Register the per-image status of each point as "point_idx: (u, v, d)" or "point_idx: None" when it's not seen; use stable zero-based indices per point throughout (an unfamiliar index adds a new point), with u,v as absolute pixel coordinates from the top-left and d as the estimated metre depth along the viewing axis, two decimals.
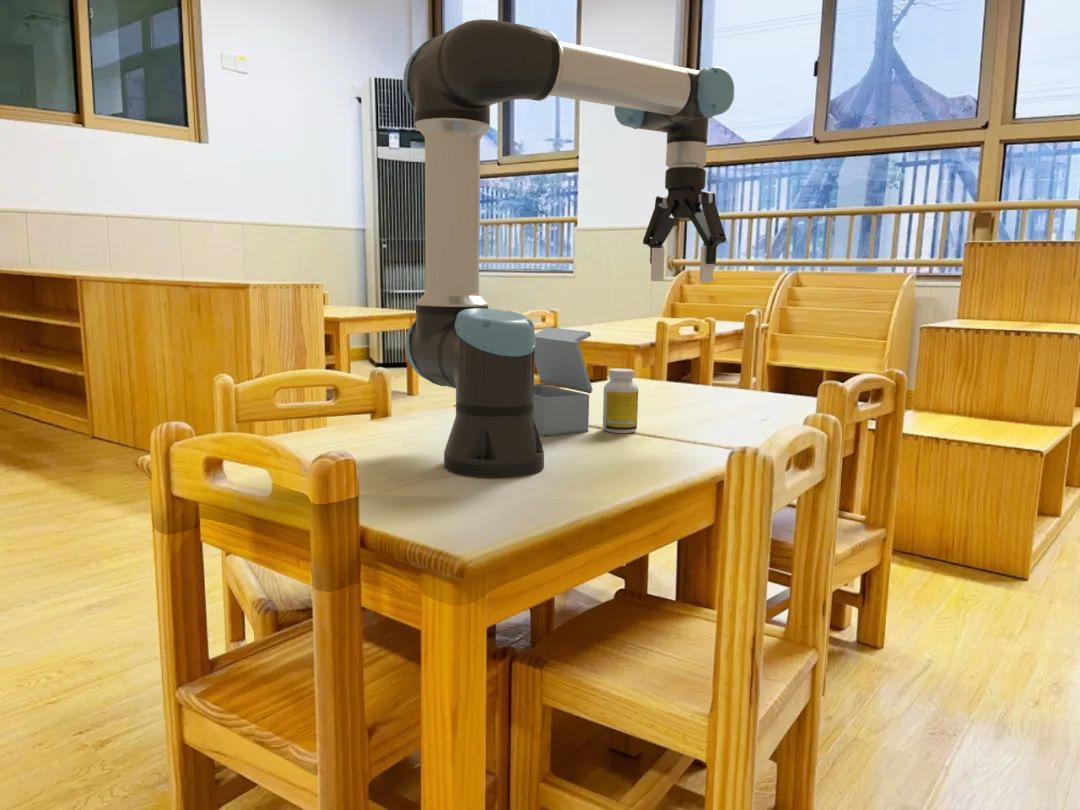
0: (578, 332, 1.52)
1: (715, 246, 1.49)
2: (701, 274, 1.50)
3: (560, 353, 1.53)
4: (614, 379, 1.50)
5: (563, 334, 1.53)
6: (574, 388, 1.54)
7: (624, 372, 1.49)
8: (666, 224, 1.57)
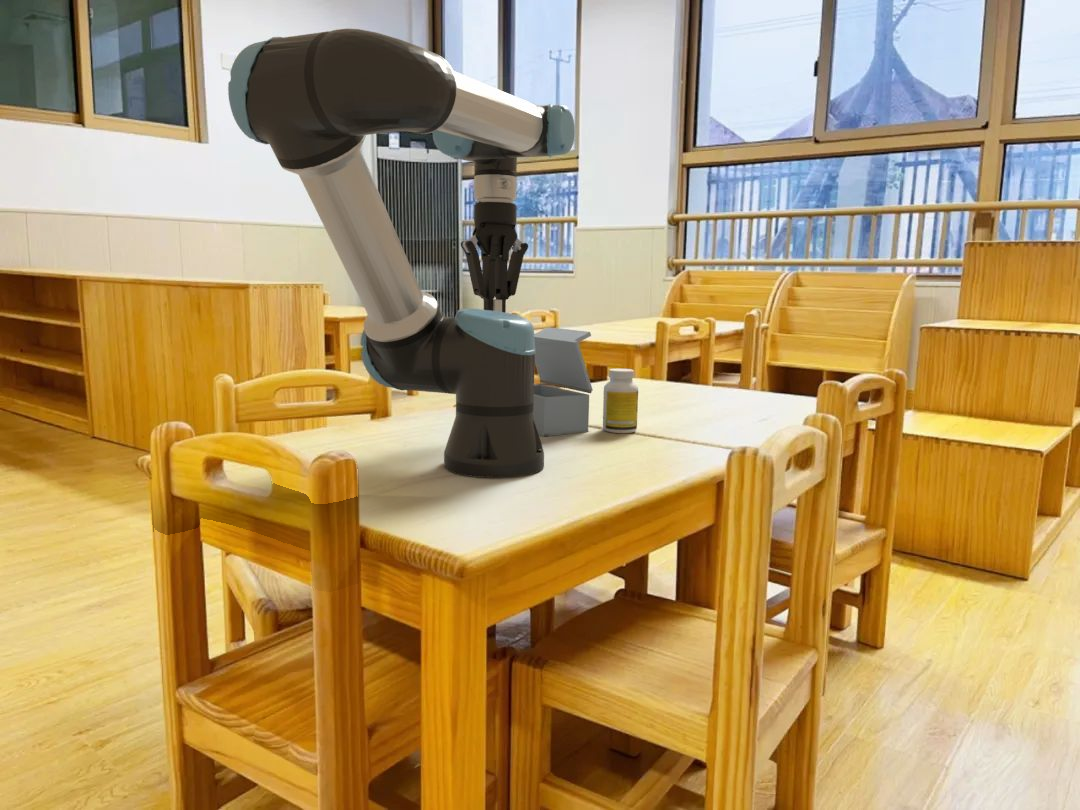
0: (578, 332, 1.52)
1: (485, 299, 1.45)
2: None
3: (560, 353, 1.53)
4: (614, 379, 1.50)
5: (563, 334, 1.53)
6: (574, 388, 1.54)
7: (624, 372, 1.49)
8: (495, 265, 1.46)
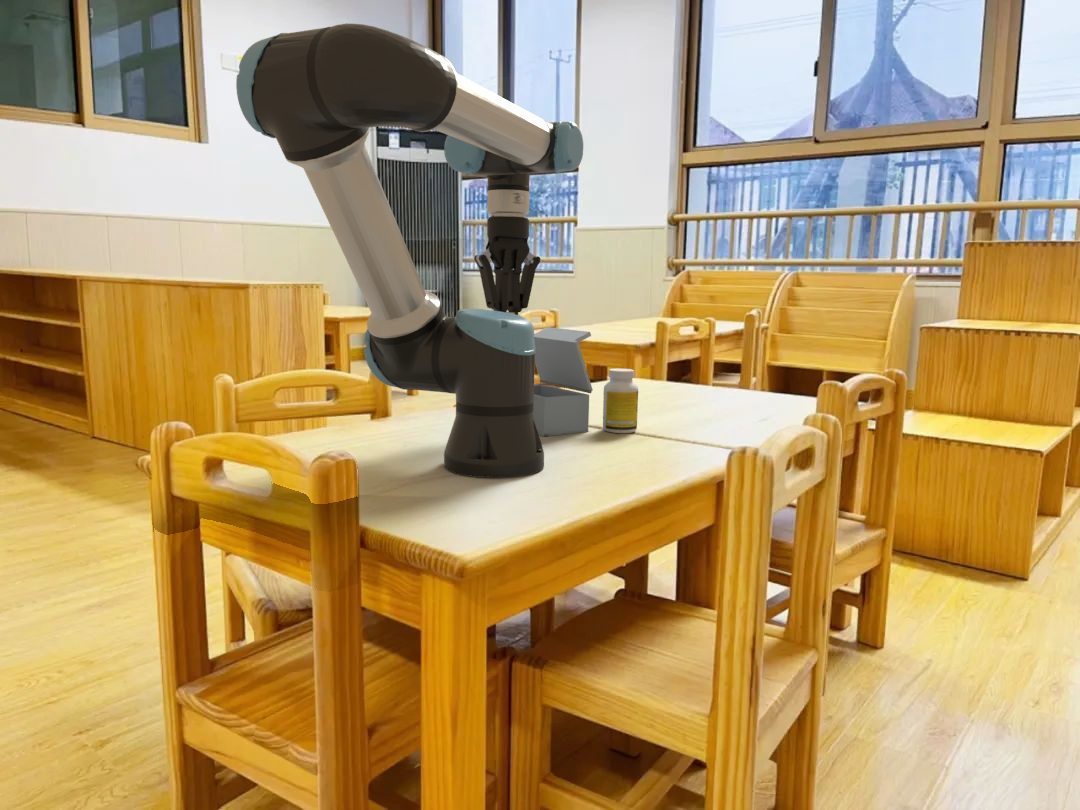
0: (578, 332, 1.52)
1: None
2: None
3: (560, 353, 1.53)
4: (614, 379, 1.50)
5: (563, 334, 1.53)
6: (574, 388, 1.54)
7: (624, 372, 1.49)
8: (508, 278, 1.48)
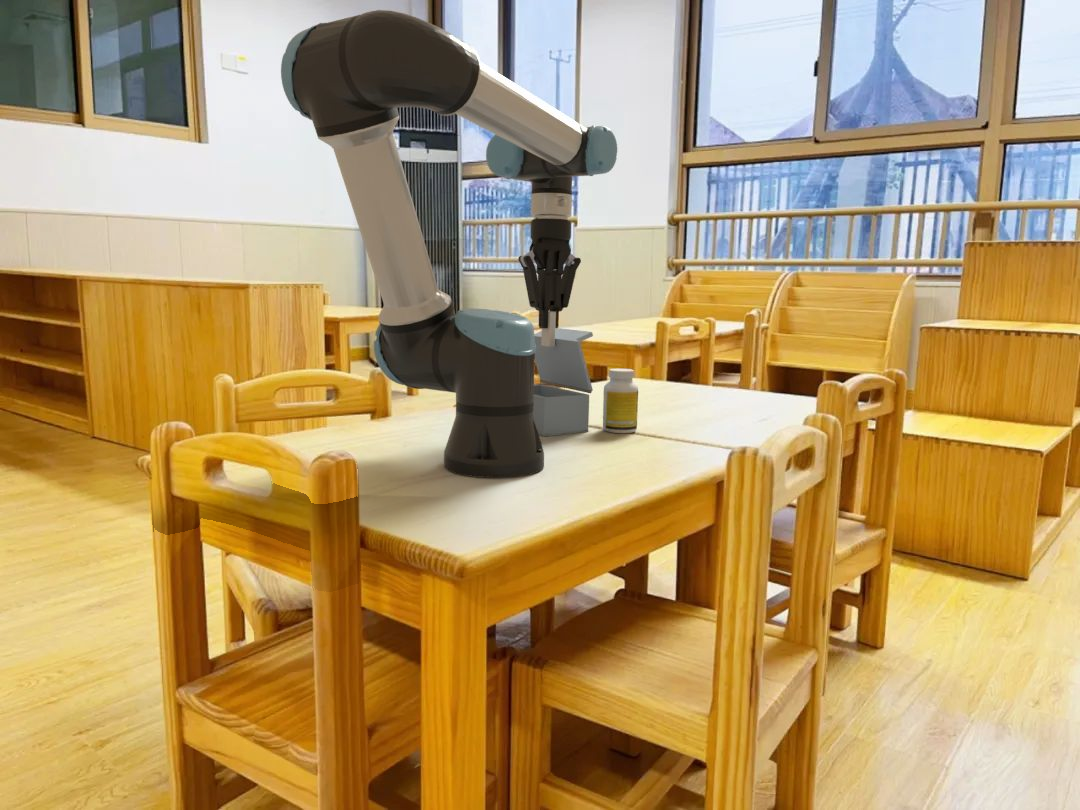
0: (580, 332, 1.52)
1: (541, 311, 1.51)
2: None
3: (562, 352, 1.53)
4: (614, 379, 1.50)
5: (565, 334, 1.54)
6: (574, 388, 1.54)
7: (624, 372, 1.49)
8: None
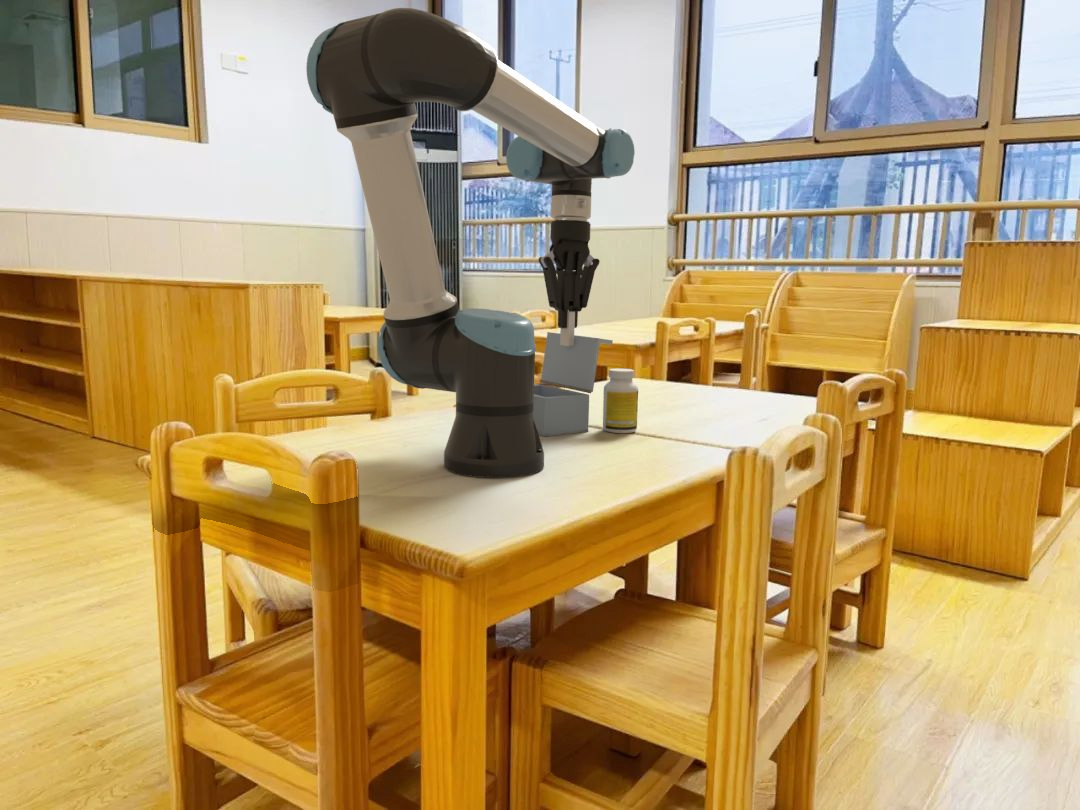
0: None
1: (560, 311, 1.54)
2: None
3: (576, 350, 1.55)
4: (614, 379, 1.50)
5: None
6: (574, 387, 1.54)
7: (624, 372, 1.49)
8: None
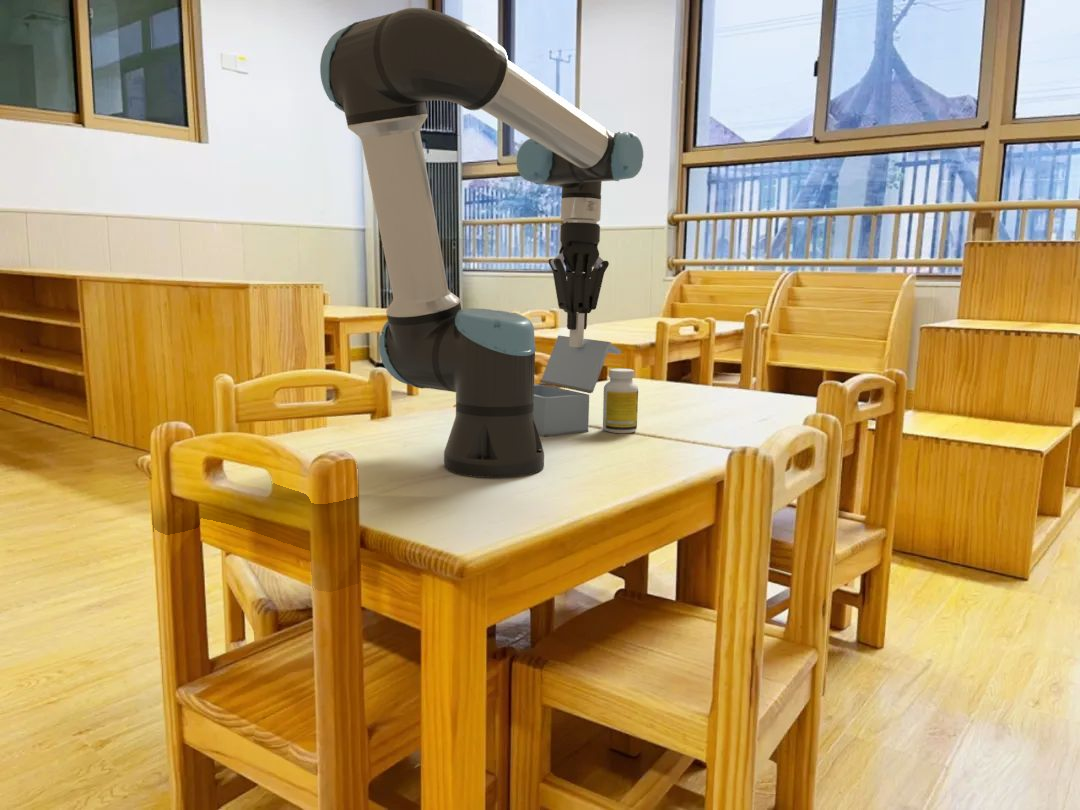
0: None
1: (569, 312, 1.55)
2: None
3: (584, 352, 1.56)
4: (614, 379, 1.50)
5: None
6: (574, 387, 1.54)
7: (624, 372, 1.49)
8: (578, 281, 1.57)
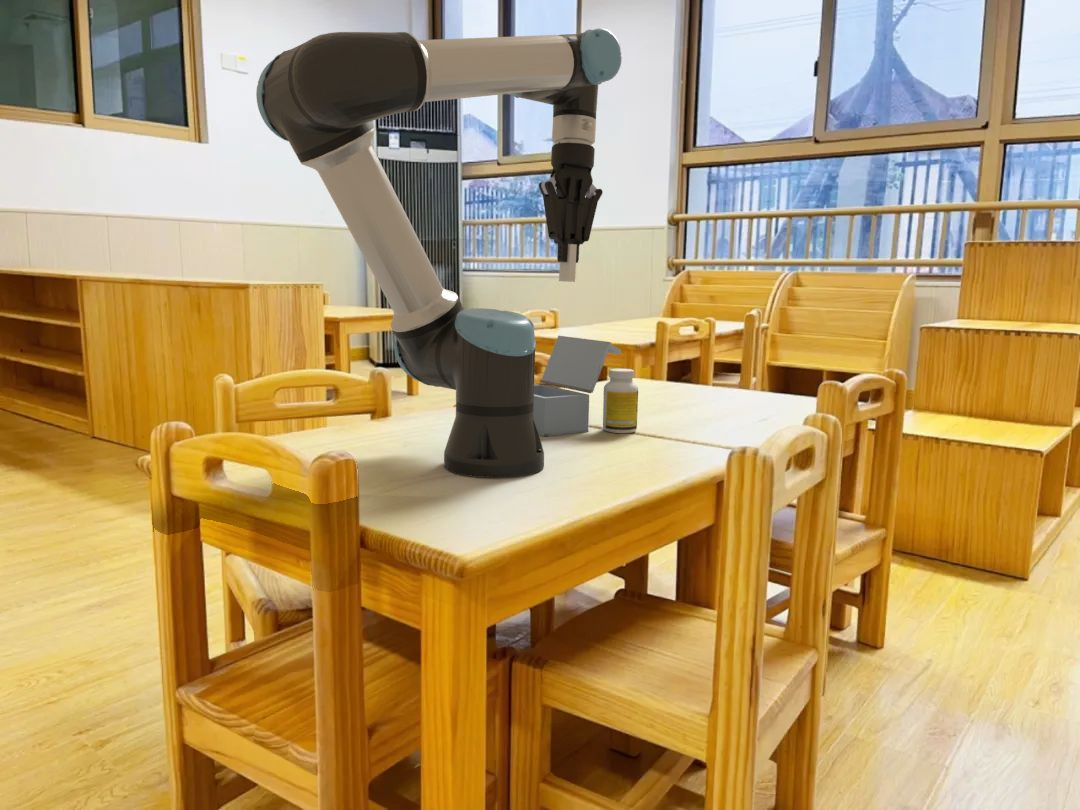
0: None
1: (560, 243, 1.42)
2: None
3: (585, 352, 1.56)
4: (614, 379, 1.50)
5: None
6: (574, 387, 1.54)
7: (624, 372, 1.49)
8: None
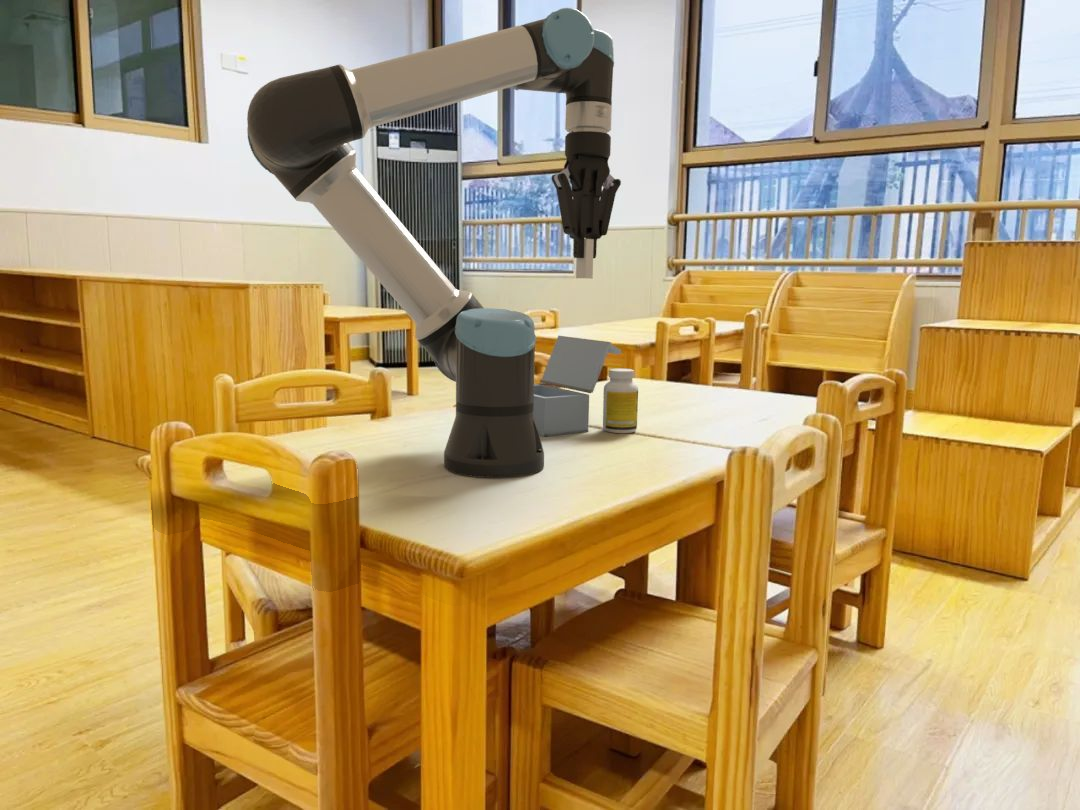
0: None
1: (576, 238, 1.35)
2: None
3: (585, 352, 1.56)
4: (614, 379, 1.50)
5: None
6: (574, 387, 1.54)
7: (624, 372, 1.49)
8: None
